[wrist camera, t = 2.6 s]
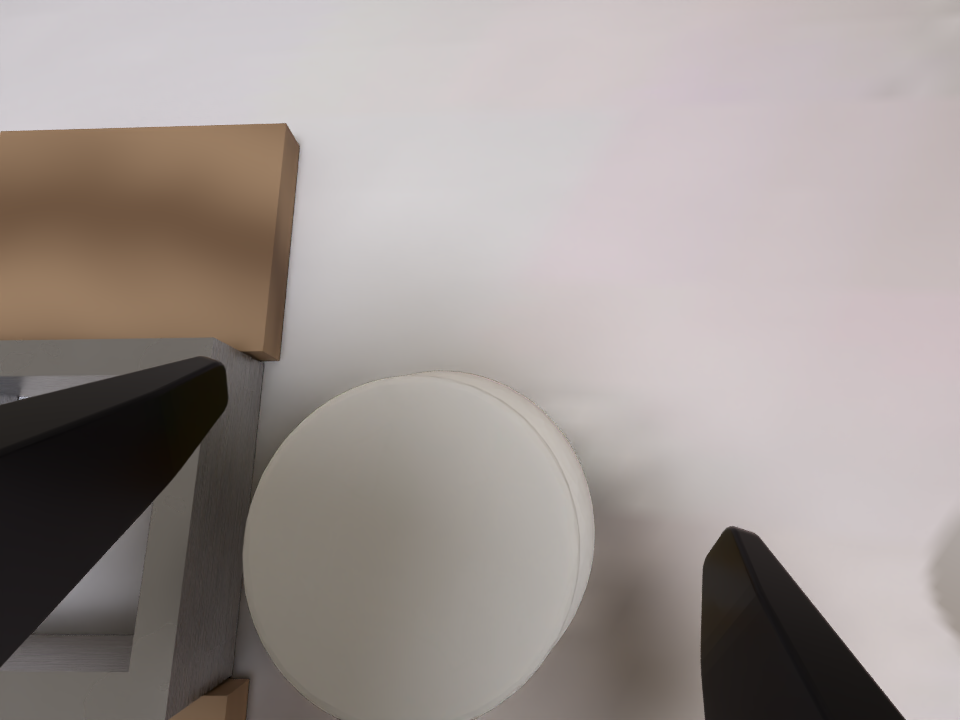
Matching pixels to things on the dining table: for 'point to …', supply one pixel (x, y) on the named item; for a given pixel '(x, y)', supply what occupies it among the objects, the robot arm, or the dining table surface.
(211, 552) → the grey square frame
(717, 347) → the dining table surface
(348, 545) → the supplement bottle
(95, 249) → the brown flat rectangular board
